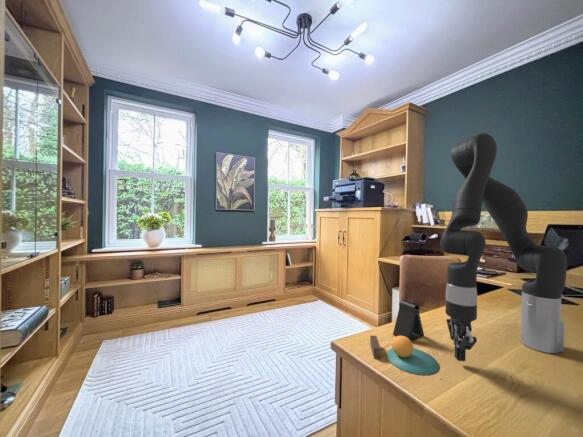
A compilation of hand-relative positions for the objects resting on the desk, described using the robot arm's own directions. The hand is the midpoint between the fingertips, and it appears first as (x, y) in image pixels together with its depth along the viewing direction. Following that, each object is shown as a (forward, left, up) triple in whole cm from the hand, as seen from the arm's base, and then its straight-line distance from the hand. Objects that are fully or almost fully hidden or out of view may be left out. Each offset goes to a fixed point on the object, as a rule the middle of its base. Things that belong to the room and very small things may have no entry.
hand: (459, 359), depth 73 cm
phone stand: (+10, -16, -2) cm, 19 cm away
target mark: (+13, 0, -2) cm, 13 cm away
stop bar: (+23, -3, -2) cm, 23 cm away
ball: (+15, -2, +2) cm, 15 cm away
